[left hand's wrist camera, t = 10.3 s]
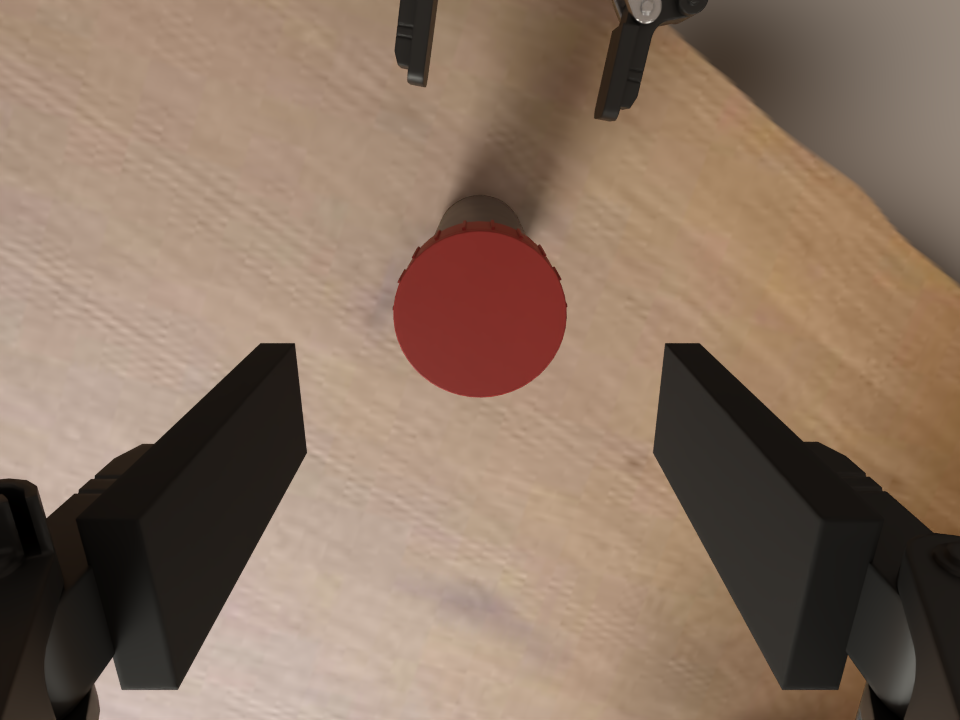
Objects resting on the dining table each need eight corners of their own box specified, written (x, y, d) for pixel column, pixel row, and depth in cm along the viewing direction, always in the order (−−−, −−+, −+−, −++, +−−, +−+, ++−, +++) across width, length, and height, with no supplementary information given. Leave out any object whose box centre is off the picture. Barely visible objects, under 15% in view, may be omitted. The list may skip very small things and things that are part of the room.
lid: (494, 403, 24) (496, 430, 21) (368, 315, 22) (356, 335, 20) (592, 285, 22) (605, 301, 20) (462, 184, 21) (460, 190, 19)
